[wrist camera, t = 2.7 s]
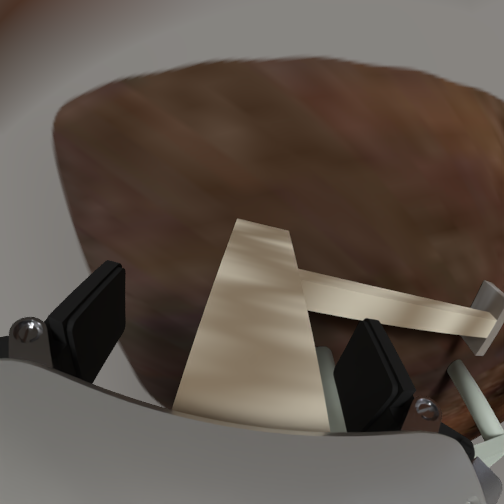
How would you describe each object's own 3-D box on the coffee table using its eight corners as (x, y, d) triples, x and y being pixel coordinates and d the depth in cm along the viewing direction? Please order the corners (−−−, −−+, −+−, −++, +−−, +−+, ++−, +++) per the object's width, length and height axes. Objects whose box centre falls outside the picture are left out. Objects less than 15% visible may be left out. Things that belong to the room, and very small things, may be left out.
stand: (465, 359, 20) (516, 443, 9) (409, 427, 24) (434, 504, 13) (312, 343, 19) (336, 495, 8) (270, 424, 23) (268, 531, 12)
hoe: (491, 282, 17) (590, 389, 4) (464, 332, 18) (540, 448, 5) (239, 210, 16) (150, 467, 3) (222, 286, 18) (160, 519, 5)
